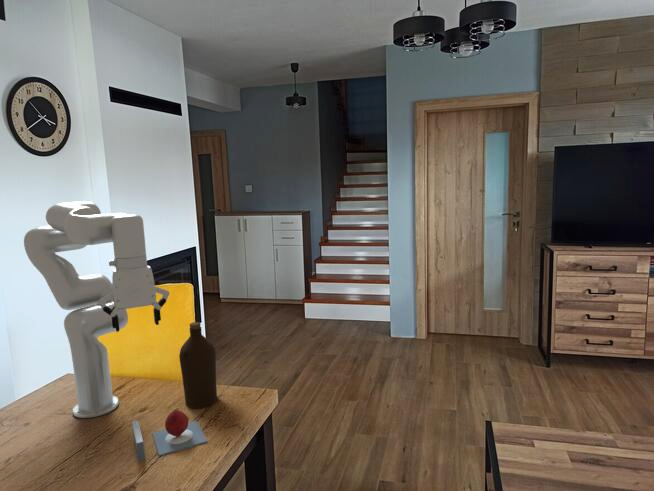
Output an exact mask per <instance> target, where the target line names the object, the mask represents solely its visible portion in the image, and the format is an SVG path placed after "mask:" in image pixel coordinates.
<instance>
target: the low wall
mask: <svg viewBox="0 0 654 491" xmlns="http://www.w3.org/2000/svg"><path fill="white" fill-rule="evenodd" d="M131 427H132V435H133V442H134V448H135V451H136V456H137V462H138V463H141V462H145V461H146V454H145V446H144V438H143V435H142V431H141V428H140V423H139V420H133V421H131Z"/></svg>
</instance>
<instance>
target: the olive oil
mask: <svg viewBox="0 0 654 491" xmlns="http://www.w3.org/2000/svg"><path fill="white" fill-rule="evenodd" d="M189 334H190V335H189V337H188V339H186V341H185V342H183V344H182V345H181V348H180V350H179V365H180V371H181V377H182V383H183V392H184V394H183V395H184V401H185V405H186V406H187V407H188V408H190V409H203V408H204V409H205V408H207V407H210V406H211V405H214V404H215V403H216V401H217V400H218V395H217V394H218V392H217V367H216V366H217V362H216V360H217V358H216V357H217V355H216V349H215V346H214V344H213V343H212V342H211V341H210V339H208V338H207V337H205V336H204V335H203V334H202V326H201V322H200V321H194V322H190V323H189Z"/></svg>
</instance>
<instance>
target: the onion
mask: <svg viewBox="0 0 654 491" xmlns="http://www.w3.org/2000/svg"><path fill="white" fill-rule="evenodd" d="M164 423H165V424H164V428H165V429H166V430H167V432H168V433H169V434H171V435H172V436H176V437H179V436H180V435H181V434H182V433H183V432H184V431H185V430H186V429H187V427H188V423H189V417H188V416H187V414H186V413H185V412H184V411H181V410H180V409H179V407H174V408H173V411H172V412H170V413H169V414H168V416H167V417H166V419H165V422H164Z"/></svg>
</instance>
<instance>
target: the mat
mask: <svg viewBox="0 0 654 491" xmlns="http://www.w3.org/2000/svg"><path fill="white" fill-rule="evenodd" d="M152 438H153V441H154V444H155V447H156V450H157V453H158V457H162V456H165V455H168V454H172V453H175V452H178V451H179V452H180V451H182V450H185V449H189V448H193V447H196V446H199V445H203V444H206V443H208V440H207V438H206V435H205V434H204V432H203V429H202V427H201V426H200V424H199V422H198V420H194V421H190V422H188V427H187V429H186V430H185V431H184V432H183V433H182V434H181V435H180V436H179V437H176V436H172V435H171V434H169V433H168V432H167V430H166V428H164V429H161V430H156V431H154V432H152Z"/></svg>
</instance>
